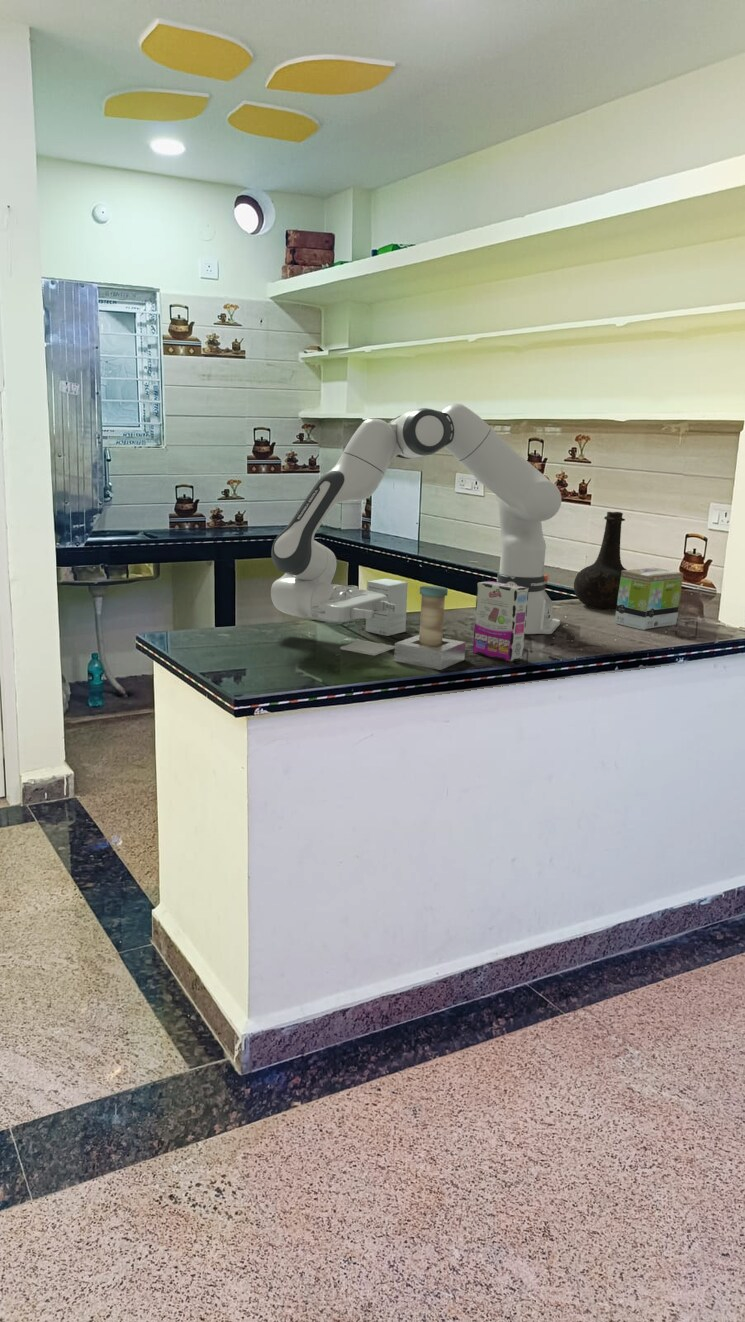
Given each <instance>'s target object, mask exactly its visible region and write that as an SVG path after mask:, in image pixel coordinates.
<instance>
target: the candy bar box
mask: <svg viewBox="0 0 745 1322" xmlns="http://www.w3.org/2000/svg"><path fill="white" fill-rule="evenodd" d="M528 591H529V588H527V587H521V586H517V585H510V584H505V583H499V582H497V581H491V580H488V581H486V580H485V581H481V582H477V588H476V601H475V614H474V628H473V629H474V631H473V643H472V653H475V654H478V655H482V656H485V657H490V658H494V659H498V660H501V661H506V662H509V663H511V662H516V661H520V660H521V661H522V659H524V650H525V649H524V648H525V637H526V634H525V627H526V615H527V603H528Z"/></svg>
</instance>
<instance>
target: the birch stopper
mask: <svg viewBox="0 0 745 1322" xmlns="http://www.w3.org/2000/svg"><path fill="white" fill-rule="evenodd" d="M419 594H420V595H421V598H420V599H421V602H420V618H419V619H420V620H419V621H420V623H419V634H420V635H419V634H418V635H419V645H425V646H431V647H436V648H437V647H440V646H442V638H443V636H444V635H443V633H444V619H445V618H444V616H445V601H446V597H447V596H448V587H447V588H446V587H444V586H438V585H423V586H420V587H419Z"/></svg>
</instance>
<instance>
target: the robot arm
mask: <svg viewBox="0 0 745 1322" xmlns="http://www.w3.org/2000/svg"><path fill="white" fill-rule="evenodd" d="M441 449H445V450H446V451H448V452H450V454H451V455H452V456H453V457H454V458H455V459H456V460H457V462H459V463H460V464H461V465H462V466H463V467H464V468H465V469H466V470H467V471H468V472H469V473H470V474H471V475H472V476H473V477H474V478H476V480H477V481H478V482H479V483H480V484H482V485H483V486H485V488H487V490H490V492H492V493H493V494H495V495H496V502H497V504H498V505H497V506H498V510H499V511H498V513H499V526H500V537H501V538H500V539H501V545H500V547H501V549H500V562H499V571H498V573H497V577H496V582H499V583H505V584H510V585H517V586H521V587H527V588H529V591H528V603H527V615H526V627H525V635H536V634H537V635H538V634H540V635H542V634H543V635H552V634H553V633H554V631H556V629H557V628H558V627H559V626H560V625H561V620H560V619H558V618H553V607H554V605H553V601H552V599H551V598H550V596H549V595H548V594H547V592H546V590H545V589H546V583H548V581H549V575H548V574H544V569H545V560H546V549H547V547H546V545H547V544H546V541H545V538H544V533H543V525H542V522H545V521H547V520H550V519H552V518H553V517H554V516H555V515H556V514H557V513H558V512H559V511H560V508H561V505H562V493H561V491H560V489H559V488H558V486H557V485H555V483H554V482H552V481H551V480H550V479H549V478H548V477H547V476H546V475H544V474H543V473H542V472H541V471H540V470H538V469H537V467H535V466H534V465H533V464H532V463H531V462H529V461H527V459H525V458H524V457H523V456H522V455H521V454H519V453H517V452H516V450H515V449H513V448H512V447H511V446H510V445H509V443H507V442H506V441H505V440H504V439H503V438H502V437H501V436H500V435H499V434H498V433H497V432H496V431H495V430H494V428H492V427H491V426H490V425H489V424H488V423H487V422H486V421H485V420H484V419H482V418H481V416H479V415H478V414H477V413H475V412H474V411H473V410H471V409H470V408H468V407H467V406H465V405H464V404H462V403H452V404H449V405H447V406H446V407H444V408H443V409H441V411H439V410H437V409H432V408H427V407H425V408H423V407H422V408H417V409H412V410H409V411H406V412H404V413H403V414H400V415H398V416H397V417H395V418H394V419H392V420H391V421H389V422H386V421H385V420H383V419H380V418H368V419H366V420H364V421H363V422H361V424H360V425H359V426H358V428H357V429H356V430H355V432H354V433H353V434H352V436H351V438H350V439H349V441H348V442H347V445H346V446H345V448H344V449H343V451H342V454H341V456H340V457H339V459H338V460H337V462H336V464H335V465H334V466H333V467H332V468H331V469H330V470H329V471H326V472H325V473H323V475H322V476H321V477H320V478H319V479H318V480H317V482H316V483H315V484H314V486H313V487H312V489H311V490H310V492H308V493H309V494H308V495H307V496H306V498H305V499H304V501H303V503H302V504H301V505H300V507H299V508H298V510H297V512H296V513H295V515H294V516H293V518H292V519H291V520H290V522H289V523H288V525H287V526H285V528H284V529H282V531H281V532H280V533H278V535H277V536H276V538H275V539H274V540H273V543H272V546H271V551H270V552H271V553H270V555H271V560H272V563H273V565H274V567H275V568H276V569H277V570H278V571H280V572H282V573H284V574H283V575H282V576H281V577H279V578H277V579H276V580H274V581H273V583H272V585H271V588H270V597H271V601H272V603H273V606H274V607H275V608H276V609H277V610H278V611H279V612H282V613H284V614H286V615H289V616H292V617H293V616H294V617H297V618H306V619H307V618H312V619H314V620H317V621H320V622H328V623H332V624H339V623H340V624H341V623H346V622H350V621H353V620H356V619H357V620H358V619H364V620H366V619H372V618H374V614H375V613H378V612H381V611H386V612H390V613H392V612H395V611H396V605H395V604H391V603H388V602H387V596H386V595H384V594H381V593H377V592H373V591H368V590H367V589H363V588H362V589H360V588H359V586H357V585H341V584H334V583H333V580H334V578H335V574H336V572H337V567H338V559H337V556H336V554H335V553H334V551H332V550H331V549H330V548H328V547H327V546H325V545H323V544H322V543H320V542H318V541H317V540H315V535H316V533H317V531H318V529H319V528H320V527H321V525H322V524H323V521H325V519H326V518H327V517H328V515H329V513H330V511H331V510H332V509H333V508H334V506H336V505H337V504H339V503H342V502H358V501H360V502H361V501H363V500H364V501H365V500H366V499H368V498H370V497H371V496H373V494H374V493H375V492H376V491H377V489H378V488H379V486H380V484H381V482H382V481H383V478H384V476H385V473H386V472H387V470H388V468H389V466H390V464H391V462H392V461H393V459H395V458H396V457H397V458H400V459H408V460H409V459H421V458H424V457H427V456H430V455H431V456H432V455H433V454H435V453H437V452H439V451H440V450H441Z"/></svg>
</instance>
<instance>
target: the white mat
mask: <svg viewBox="0 0 745 1322" xmlns="http://www.w3.org/2000/svg"><path fill="white" fill-rule="evenodd" d="M340 650H342V651H348V652H349V651H350V652H351V653H358V654H363V655H369V656H377V655H380V654H383V653H386V652H388V651H391V650H395V645H391V644H390V645H389V644H384V643H379V642H373V641H369V640H368V641H367V640H362V639H361V640H358V641H355V642H354V641H353V642H351V643H349V644H345V645H342V646H340Z"/></svg>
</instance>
